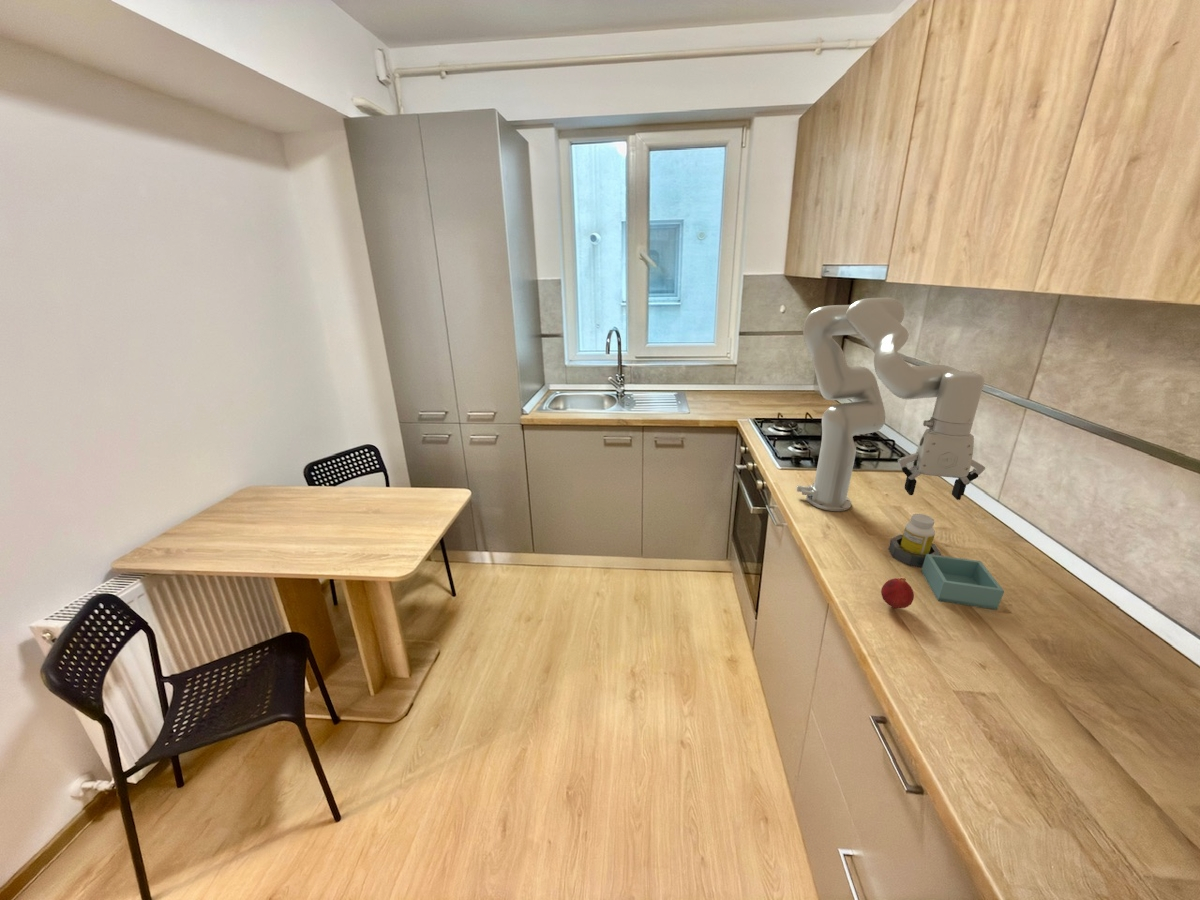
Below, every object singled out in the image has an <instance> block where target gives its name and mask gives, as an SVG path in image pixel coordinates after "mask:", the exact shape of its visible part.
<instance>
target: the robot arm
mask: <svg viewBox="0 0 1200 900" xmlns="http://www.w3.org/2000/svg"><path fill="white" fill-rule="evenodd" d="M904 318H905V308H904V305H903V304H902V303H901V302H900V301H899V300H898V299H896V298H893V297H870V298H869V297H868V298H863V299H858V300H857V301H854V302H853V303H852V304H836V305H835V304H834V305H833V304H832V305H825V306H819V307H817V308H815V309H813V310H811V312H809V314H808V315H807V316H806V319H805V320H804V322H803V323H804V324H803V329H802V331H803V335H802V336H803V339H804V343H805V346H806V348H807V351H808V353H809V356H810V357H811V360H812V363H813V369H814V373H815V377H816V381H817V385H818V388H819V392H820V394H821V396H822V397H823V399H825V400H827V401H844V400H845V401H846V400H851V401H852V402H843V403H838V404H837V403H836V404H834V405H833V404H832V405H831V406H829V407H828V408H827V409H826V410H824V412H823V413H822V417H821V444H820V449H819V455H818V461H817V466H816V472H815V477H814V482H812V483H811V484H810V485H807V486H805V485H798V484H797V486H796V492H800V493H801V495H803V496H806V497H805V499H806V501H807V502H808V503H809V504H810V505H812V506H813V507H816V508H818V509H821V510H824V511H830V512H844V511H847V510H849V509H850V508H851V506H852V501H851V499H850V498H849V497H848V493H849V488H850V483H851V478H852V474H853V469H854V464H855V459H856V454H857V448H856V444H855V441H854V438H853V437H854V436H858V435H865V434H871V433H872V434H873V433H877V432H878V431H880V430H881V429H882V428H883V427H884V425H885V422H886V410H885V406H884V402H883V398H882V396H881V392H880V388H879V384H878V381H877V378H878V379H879V381H880V382H881V383H882V384H883V385H884V386H885V388H887V389H888V391H889V392H891V393H892V394H893V395H894V396H896V397H897V398H899V399H902V400H918V399H927V398H928V399H929V398H936V399H935V404H934V408H933V412H932V416H930V419H928V420H923V426H924V427H927V428H926V429H925V430H924V432H923V434H922V436H921V439H919V442H918V445H917V448H916V451H915V453H911V454H909V455H905V456H902V457H899V458H898V459H897V463H898V466H899V467H900V470H901V471H902V473H903V474H904V475H905V476H906V478H905V479H906V480H905V483H904V490H905V491H906V492H907V494H908V496H914V493H915V488H916V485H917V480H916V478H917V477H919V476H921V475H924V476H931V477H932V476H933V477H943V478H944V477H945V478H952V479H953V478H956V479H955V481H954V484H953V487H952V490H951V496H952V497H953V498H955V499H956V500H957V501H960V500H961V498H962V496H964V494H965V491H966V488H967V487H966V486H968V485H969V484H970V483H971V482H972V481H974V480H976V479H977V478H978V477H979V475H981V474H982V473H983V472H984V471H985V470H986V467H985V466H984V464H982V463H980V462H978V461H976V460H975V459H973V456H974V455H973V453H974V446H975V438H974V435H973V434H971V431H972V428H973V424H974V420H975V417H976V414H977V411H978V407H979V402H980V399H981V395H982V391H983V388H984V385H985V377H984V376H983V375H982V374H980V373H976V372H973V371H966V370H964V371H963V370H959V369H956V368H954V367H951V366H948V365H945V364H930V365H929V364H928V365H917V366H916V365H915V366H911V365H910V364H909V363H908V362H907V361H906V360H904V358H903V357H902V356H901V355H900V354H899V352H898V351H900V350H901V349H902V348H903V347H904V346H905V344H906V343H907V342H908V339H909V331H908V329H907V328H906V327H905V326H903V324H902V322H903V321H904ZM847 335H848V336H849V335H858V337H859V338H860V339H861V340H862V341H863V342H864V343H865V344H866V346H868V347H869V349H870V350H871V351H872V352H873V353H874V356H873V367H874V371H875V374H874V373H873V372H872V371H871V370H870V368H867V367H865V366H861V365H855V366H854V365H853V366H849V365H848V364H847V361H846V358H845V353H844V351H843V349H842V347H841V346H840V345H839V343H838V342H836V340H835V339H833V336H847ZM875 375H876V376H877V378H876V376H875ZM911 462H912V465H913V466H912V467H911V468H908V466H907V464H908V463H909V464H910V463H911ZM971 467H972V468H973V469H972V470H971Z"/></svg>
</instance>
